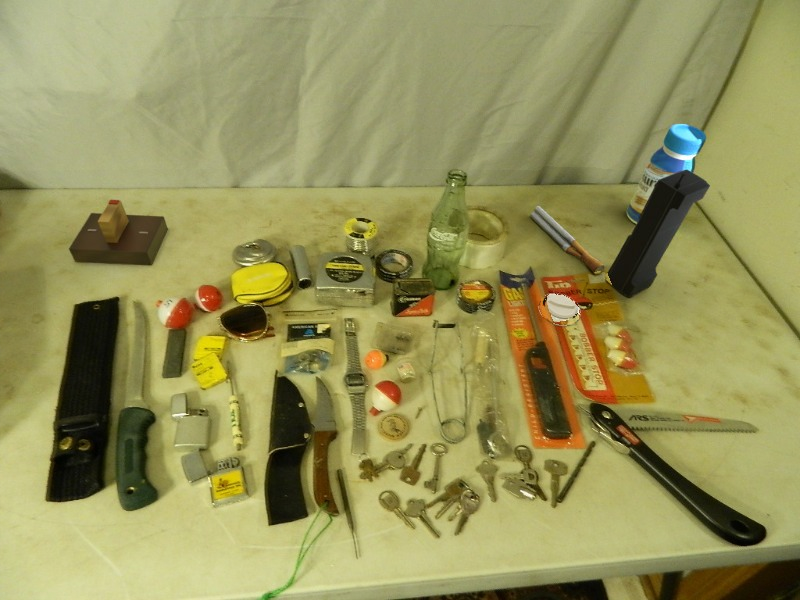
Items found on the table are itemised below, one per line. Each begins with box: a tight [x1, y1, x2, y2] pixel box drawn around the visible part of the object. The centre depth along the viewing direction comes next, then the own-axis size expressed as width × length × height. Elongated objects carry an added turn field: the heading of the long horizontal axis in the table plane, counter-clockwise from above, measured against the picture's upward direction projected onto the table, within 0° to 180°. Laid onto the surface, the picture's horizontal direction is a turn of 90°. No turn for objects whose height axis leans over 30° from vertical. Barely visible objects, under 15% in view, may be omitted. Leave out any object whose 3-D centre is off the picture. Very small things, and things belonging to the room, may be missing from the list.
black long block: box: [606, 169, 711, 298], centre depth 90 cm, size 8×6×25 cm
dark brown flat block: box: [68, 212, 169, 266], centre depth 95 cm, size 13×10×3 cm
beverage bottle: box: [626, 123, 707, 225], centre depth 106 cm, size 8×8×20 cm
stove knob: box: [537, 293, 581, 327], centre depth 92 cm, size 7×7×2 cm
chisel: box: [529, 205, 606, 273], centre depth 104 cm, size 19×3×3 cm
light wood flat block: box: [98, 199, 129, 243], centre depth 92 cm, size 6×2×5 cm, turn 1°
